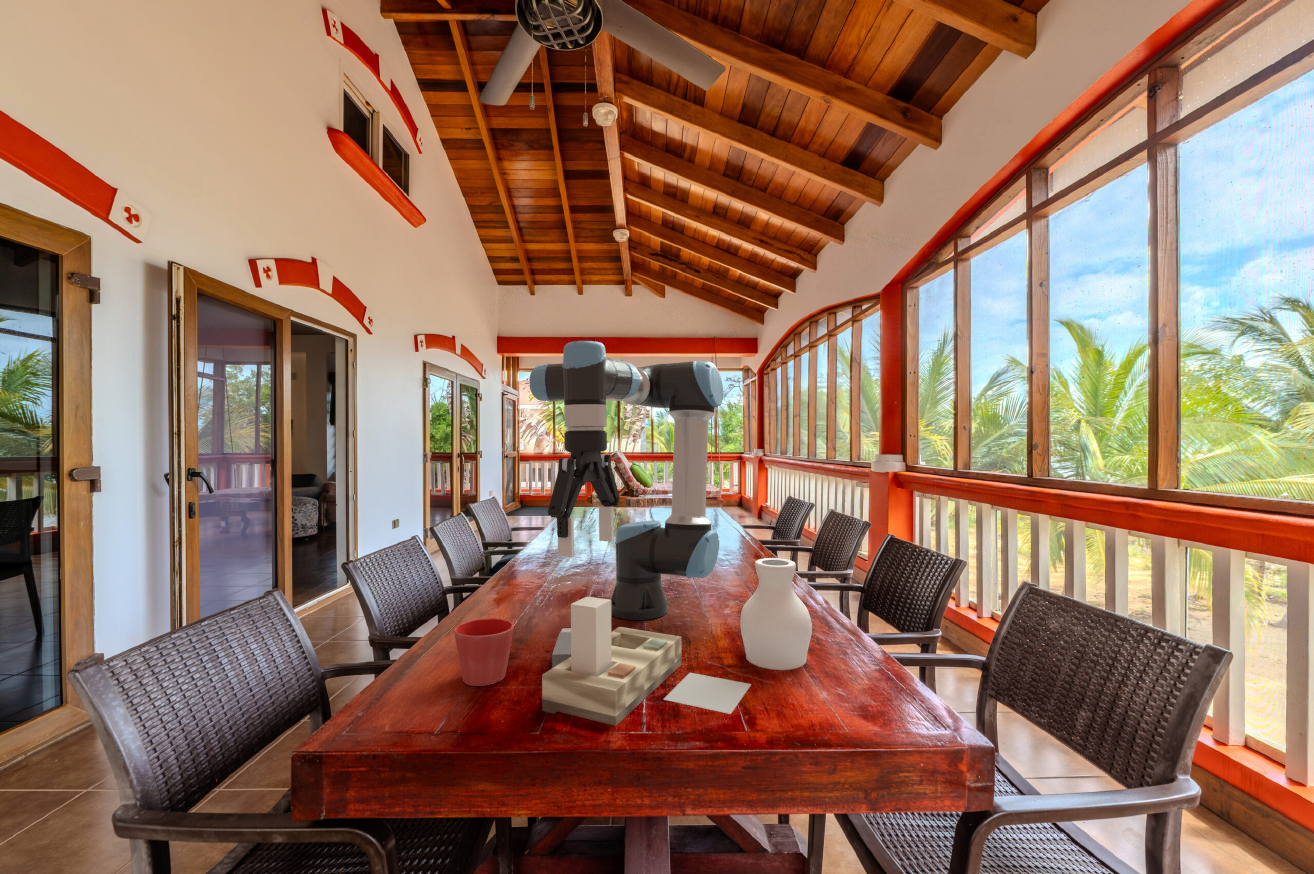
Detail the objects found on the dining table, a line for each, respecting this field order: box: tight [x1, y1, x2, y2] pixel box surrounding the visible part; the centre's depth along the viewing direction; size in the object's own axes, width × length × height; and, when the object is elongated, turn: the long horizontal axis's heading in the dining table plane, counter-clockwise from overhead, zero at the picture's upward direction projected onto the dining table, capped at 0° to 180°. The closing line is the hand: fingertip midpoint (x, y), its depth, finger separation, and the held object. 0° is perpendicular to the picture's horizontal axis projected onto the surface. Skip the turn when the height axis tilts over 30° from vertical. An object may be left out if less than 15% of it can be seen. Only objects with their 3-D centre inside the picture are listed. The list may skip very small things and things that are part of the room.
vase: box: [740, 557, 813, 671], centre depth 114 cm, size 14×14×20 cm
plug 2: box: [570, 596, 612, 677], centre depth 97 cm, size 5×5×15 cm
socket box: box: [541, 626, 682, 727], centre depth 102 cm, size 26×14×6 cm, turn 154°
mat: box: [663, 672, 752, 715], centre depth 99 cm, size 12×12×1 cm
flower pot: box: [453, 618, 515, 687], centre depth 106 cm, size 11×11×10 cm
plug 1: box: [551, 627, 571, 669], centre depth 113 cm, size 15×5×5 cm, turn 3°
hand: (587, 548), depth 101 cm, fingers open, 13 cm apart
